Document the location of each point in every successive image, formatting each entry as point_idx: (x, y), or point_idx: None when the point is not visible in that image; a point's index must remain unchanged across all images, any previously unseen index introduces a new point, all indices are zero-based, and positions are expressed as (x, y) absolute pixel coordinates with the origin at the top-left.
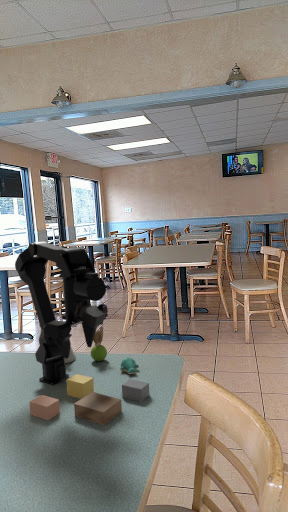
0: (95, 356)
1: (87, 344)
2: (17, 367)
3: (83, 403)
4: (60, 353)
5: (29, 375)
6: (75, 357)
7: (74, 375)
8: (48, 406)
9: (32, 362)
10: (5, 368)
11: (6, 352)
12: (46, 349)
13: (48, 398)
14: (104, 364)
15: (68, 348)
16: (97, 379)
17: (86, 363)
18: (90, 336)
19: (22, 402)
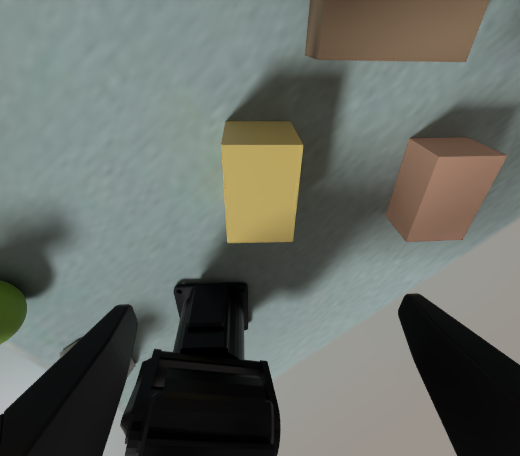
0: (14, 305)
1: (131, 342)
2: None
3: (462, 5)
4: (211, 376)
5: None
6: (66, 349)
7: (244, 240)
8: (498, 155)
9: None
10: None
11: None
12: (274, 424)
13: (432, 201)
14: (6, 256)
15: (487, 366)
16: (120, 194)
17: (62, 305)
18: (73, 414)
19: (372, 277)
